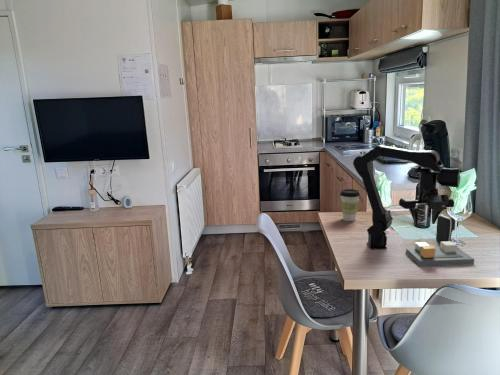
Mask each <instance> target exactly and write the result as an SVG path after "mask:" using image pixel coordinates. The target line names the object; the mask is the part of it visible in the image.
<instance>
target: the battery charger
mask: <svg viewBox="0 0 500 375" xmlns="http://www.w3.org/2000/svg"><path fill="white" fill-rule="evenodd" d="M455 230H456V220H455V218H453V217H452V216H449V215H445V214H444V215H443V214H442V215H440V214H439V216H438V218H437V220H436V234H435V240H436V241H438V242H443V241H451V242H453V241H452V233H453V231H455Z"/></svg>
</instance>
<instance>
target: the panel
mask: <svg viewBox="0 0 500 375" xmlns="http://www.w3.org/2000/svg"><path fill="white" fill-rule="evenodd" d="M433 247H434V248H435V257H430V258H424V257H423V256H421V255H420V254H419V253H418V252H417V251H416V250H415V247H412V248H411V247H410V248H406V250H405V254H406V255H407V256H408V257H409V258H410V259H412V260H413V261H414V262H415V263H416V264H417V265H418V266H419V267H429V266H430V267H431V266H432V267H433V266H435V267H436V266H454V265H455V266H459V265H461V266H462V265H474V263H475V258H473V257H472V256H470V255H469V254H467V253H466V252H465V251H463V250H462V249H461V248H459V247H457V246H456V252H447V253H445V252H444V251H442V250H441V249H440V246H436V247H435V246H433Z"/></svg>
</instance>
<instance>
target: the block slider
mask: <svg viewBox="0 0 500 375" xmlns="http://www.w3.org/2000/svg"><path fill="white" fill-rule="evenodd" d="M434 247H435V246H433V245H432V244H431V245H430V244H429V246H421V251H420V255H421V256H423V257H424V258H430V257H435V248H434Z"/></svg>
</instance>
